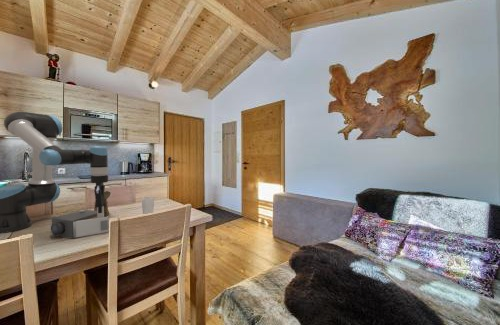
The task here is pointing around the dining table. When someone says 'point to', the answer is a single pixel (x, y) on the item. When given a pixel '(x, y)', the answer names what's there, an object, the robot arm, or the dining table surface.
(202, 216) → the dining table surface
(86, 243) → the dining table surface
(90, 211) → the camera housing
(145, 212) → the drinking glass
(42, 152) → the robot arm
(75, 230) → the side door
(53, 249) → the dining table surface
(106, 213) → the brown irregular piece
